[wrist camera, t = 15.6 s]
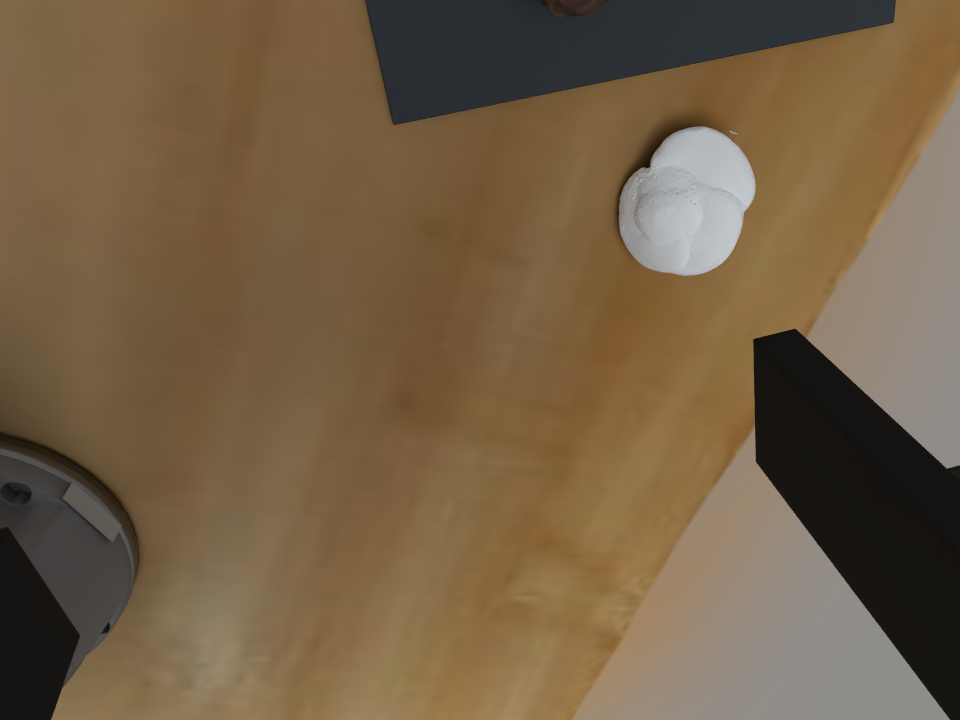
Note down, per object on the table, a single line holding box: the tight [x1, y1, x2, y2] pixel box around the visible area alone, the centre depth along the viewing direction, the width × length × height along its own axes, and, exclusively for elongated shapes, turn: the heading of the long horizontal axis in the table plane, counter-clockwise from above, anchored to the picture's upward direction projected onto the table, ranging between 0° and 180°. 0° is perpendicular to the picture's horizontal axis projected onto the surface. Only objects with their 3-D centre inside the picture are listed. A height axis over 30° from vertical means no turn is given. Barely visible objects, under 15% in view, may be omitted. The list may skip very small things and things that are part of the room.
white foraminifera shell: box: [619, 126, 755, 276], centre depth 36 cm, size 7×5×4 cm
